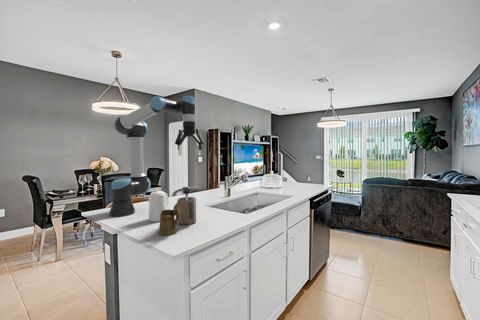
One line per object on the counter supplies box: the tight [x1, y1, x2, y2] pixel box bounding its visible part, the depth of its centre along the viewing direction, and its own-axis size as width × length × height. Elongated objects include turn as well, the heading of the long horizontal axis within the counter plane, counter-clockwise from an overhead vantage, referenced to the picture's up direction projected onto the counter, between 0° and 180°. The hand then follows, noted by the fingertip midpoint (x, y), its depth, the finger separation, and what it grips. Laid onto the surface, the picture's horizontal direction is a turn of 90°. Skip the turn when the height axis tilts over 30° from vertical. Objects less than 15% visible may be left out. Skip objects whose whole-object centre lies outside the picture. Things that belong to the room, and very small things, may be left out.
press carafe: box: [176, 196, 197, 226], centre depth 134 cm, size 12×10×14 cm
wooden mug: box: [157, 199, 183, 237], centre depth 117 cm, size 9×14×18 cm, turn 73°
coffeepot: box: [144, 188, 169, 223], centre depth 141 cm, size 11×25×19 cm, turn 168°
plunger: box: [182, 186, 191, 200], centre depth 135 cm, size 6×6×18 cm
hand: (189, 155), depth 147 cm, fingers open, 13 cm apart
